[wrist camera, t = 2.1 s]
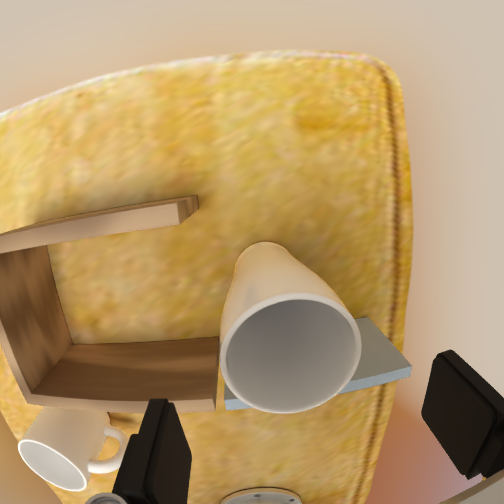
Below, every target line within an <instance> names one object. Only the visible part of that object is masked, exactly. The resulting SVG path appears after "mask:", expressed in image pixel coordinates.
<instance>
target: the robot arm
mask: <svg viewBox="0 0 504 504" xmlns="http://www.w3.org/2000/svg"><path fill="white" fill-rule="evenodd" d="M421 413H422V418H423V420H424V421H425V422H426V424H427V425H428V426H429V428H430V430H431V431H432V432H433V434H434V435H435V437H436V438H437V440H438V441H439V443H440V444H441V446H442V447H443V449H444V450H445V451H446V453H447V454H448V456H449V457H450V459H451V460H452V462H453V463H454V465H455V466H456V468H457V469H458V471H459V472H460V473H461V474H462V475H465V476H466V478H467V479H468V480H469V479H471V478H473V477H475V476H476V475H478V474H479V473H481V474H482V475H483V478H482V482H480V483H478V484H477V485H475V486H473V487H471V488H469V489H467V490H465V491H463V492H462V493H460V494H458V495H456V496H454V497H452V498H450V499H448V500H445V501H443V502H441V503H439V504H504V398H503V397H502V396H501V395H500V394H499V393H498V392H497V391H496V390H495V389H494V388H493V387H492V386H491V385H490V384H489V383H488V382H486V380H485V379H484V378H482V377H481V376H480V375H479V374H478V373H477V372H476V371H475V370H474V369H473V368H472V367H471V366H469V364H467V363H466V362H465V361H464V360H463V359H462V358H461V357H460V356H459V355H457V354H456V353H455V352H454V351H453V350H447V351H445V352H441V353H439V354H437V356H436V358H435V359H434V360H433V364H432V368H431V373H430V378H429V382H428V387H427V391H426V395H425V399H424V404H423V407H422V412H421ZM191 462H192V455H191V451H190V448H189V445H188V442H187V440H186V437H185V434H184V431H183V429H182V426H181V423H180V420H179V417H178V414H177V411H176V408H175V405H174V403H173V402H169V401H168V399H167V398H152V399H150V400H149V403H148V406H147V409H146V412H145V415H144V418H143V421H142V424H141V427H140V430H139V433H138V434H132V435H131V436H130V438H129V441H128V444H127V447H126V450H125V453H124V456H123V459H122V462H121V465H120V468H119V471H118V474H117V477H116V480H115V484H114V487H113V490H112V493H100V494H96V495H94V496H92V497H91V498H89V500H88V501H87V502H86V503H85V504H187V497H188V488H189V479H190V470H191ZM220 504H302V502H301V499H300V497H299V496H298V495H296V494H295V493H293V492H290V491H287V490H283V489H277V488H255V489H248V490H243V491H239V492H236V493H234V494H231V495H229V496H228V497H226V498H225V499H223V500H222V501H221V503H220Z"/></svg>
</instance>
